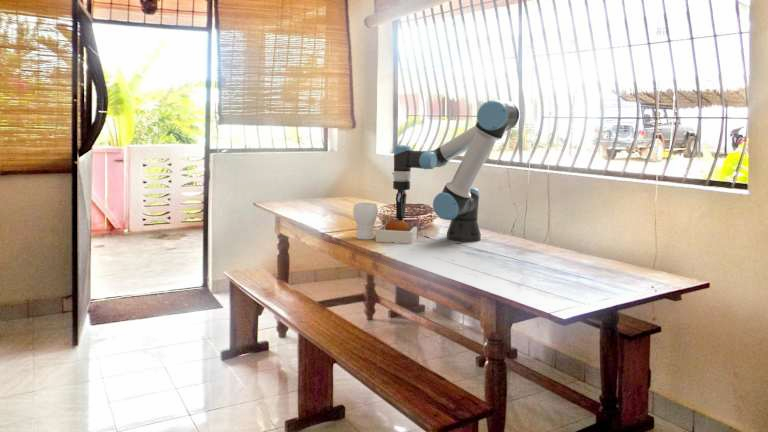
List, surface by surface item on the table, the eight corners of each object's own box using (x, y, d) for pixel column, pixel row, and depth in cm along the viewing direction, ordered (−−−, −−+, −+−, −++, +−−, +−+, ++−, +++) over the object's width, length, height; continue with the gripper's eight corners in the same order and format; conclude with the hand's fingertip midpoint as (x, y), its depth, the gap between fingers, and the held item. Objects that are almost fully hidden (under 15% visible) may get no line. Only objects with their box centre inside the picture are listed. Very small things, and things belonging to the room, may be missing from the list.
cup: (374, 240, 269) (374, 206, 267) (350, 239, 271) (350, 205, 269) (379, 236, 279) (380, 203, 277) (356, 235, 281) (356, 201, 279)
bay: (383, 234, 283) (383, 219, 282) (417, 237, 280) (418, 221, 279) (375, 241, 268) (375, 225, 267) (411, 243, 265) (412, 227, 264)
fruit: (413, 239, 273) (414, 221, 272) (393, 242, 268) (394, 223, 266) (399, 235, 282) (400, 218, 281) (380, 237, 276) (380, 219, 275)
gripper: (396, 178, 285) (394, 229, 288) (390, 181, 272) (389, 234, 276) (412, 179, 283) (410, 230, 287) (407, 182, 271) (405, 235, 274)
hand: (400, 232), depth 281 cm, fingers closed
